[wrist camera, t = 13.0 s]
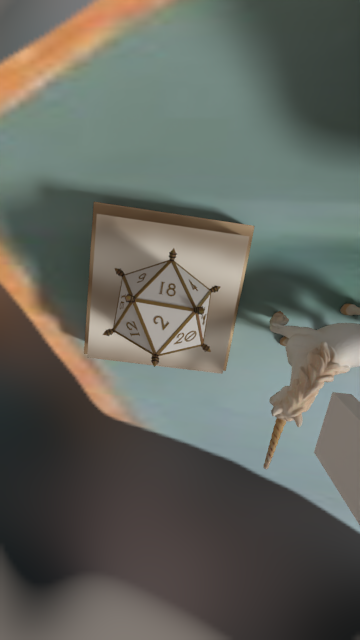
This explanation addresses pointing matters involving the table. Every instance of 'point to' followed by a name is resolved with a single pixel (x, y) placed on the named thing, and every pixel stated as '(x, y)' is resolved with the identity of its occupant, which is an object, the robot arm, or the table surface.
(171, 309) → the game die
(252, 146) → the table surface
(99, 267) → the tower base
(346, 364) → the unicorn figurine
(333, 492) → the table surface
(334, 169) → the table surface
